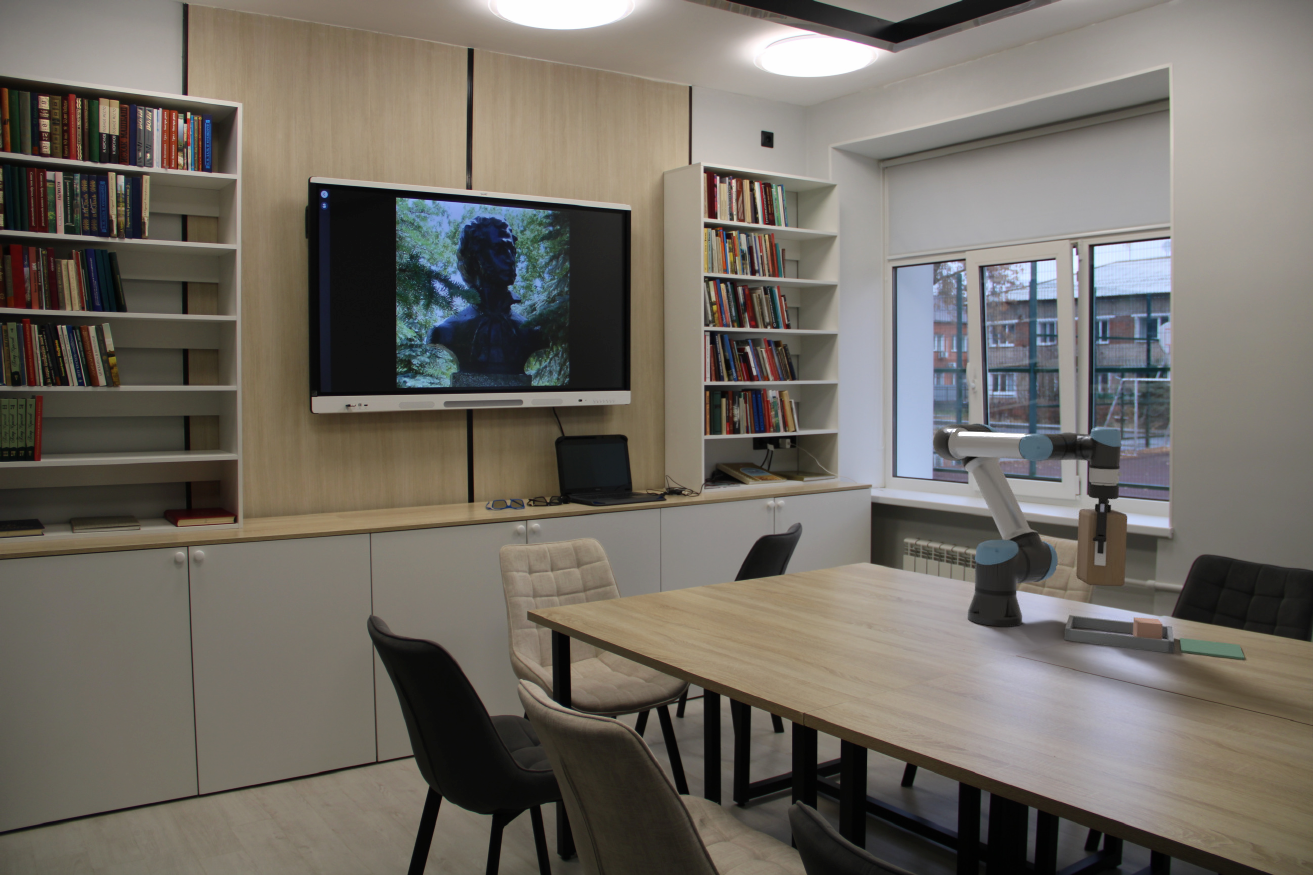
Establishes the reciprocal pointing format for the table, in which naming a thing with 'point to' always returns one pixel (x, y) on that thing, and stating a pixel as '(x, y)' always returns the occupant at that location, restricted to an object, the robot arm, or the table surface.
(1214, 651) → the pad
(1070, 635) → the bin
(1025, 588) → the table surface
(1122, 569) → the wooden block
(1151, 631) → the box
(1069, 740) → the table surface
